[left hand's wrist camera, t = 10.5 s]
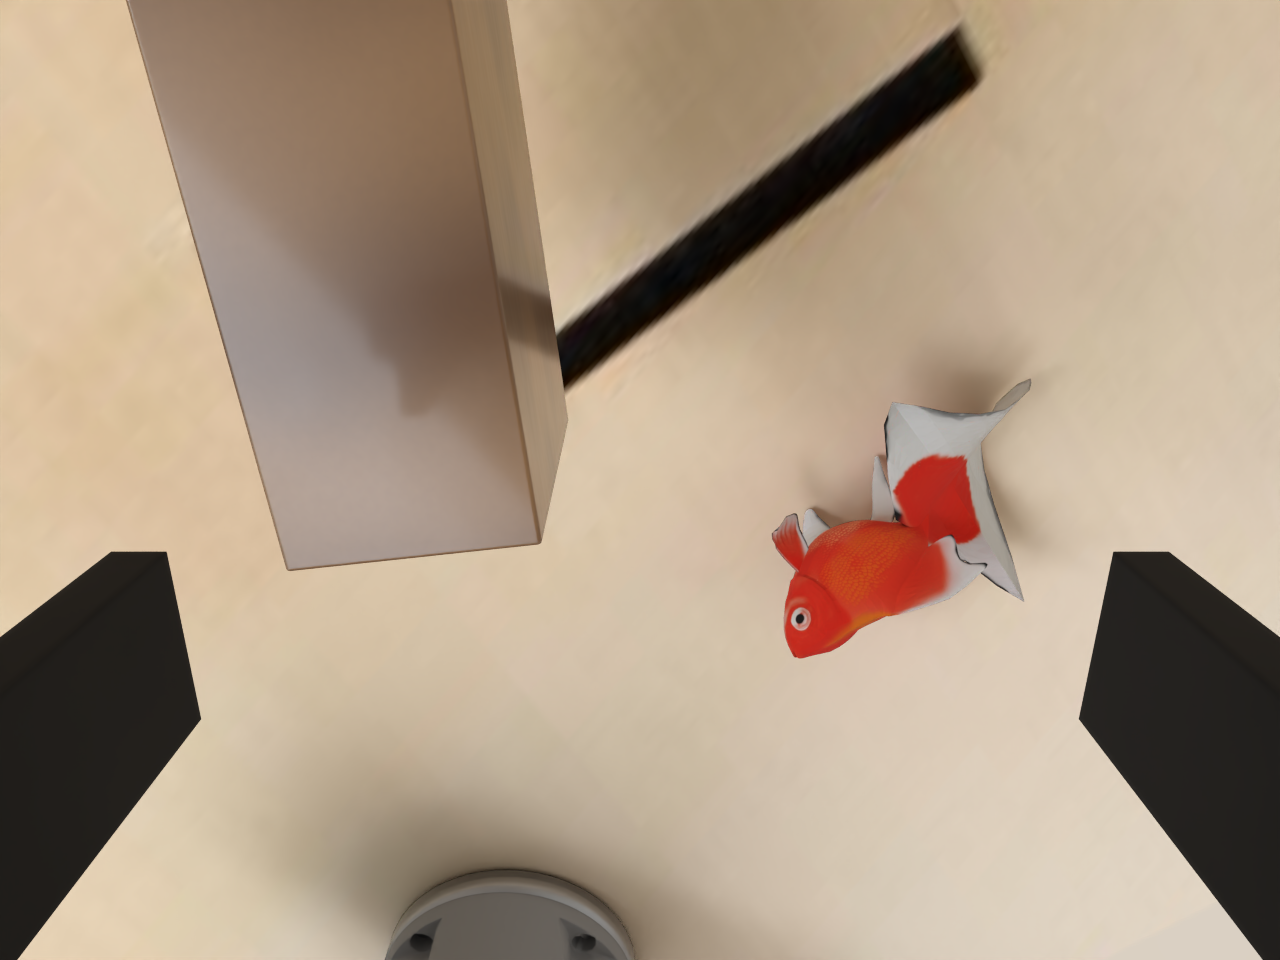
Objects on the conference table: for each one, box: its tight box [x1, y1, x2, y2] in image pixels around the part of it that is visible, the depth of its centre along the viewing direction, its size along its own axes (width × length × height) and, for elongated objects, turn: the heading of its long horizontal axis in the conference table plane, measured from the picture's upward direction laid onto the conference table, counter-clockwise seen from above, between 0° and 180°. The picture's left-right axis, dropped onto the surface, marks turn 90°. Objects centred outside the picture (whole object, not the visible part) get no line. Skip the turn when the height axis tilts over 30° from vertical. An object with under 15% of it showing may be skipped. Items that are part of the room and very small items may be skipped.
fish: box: [772, 379, 1031, 658], centre depth 40 cm, size 11×16×10 cm
